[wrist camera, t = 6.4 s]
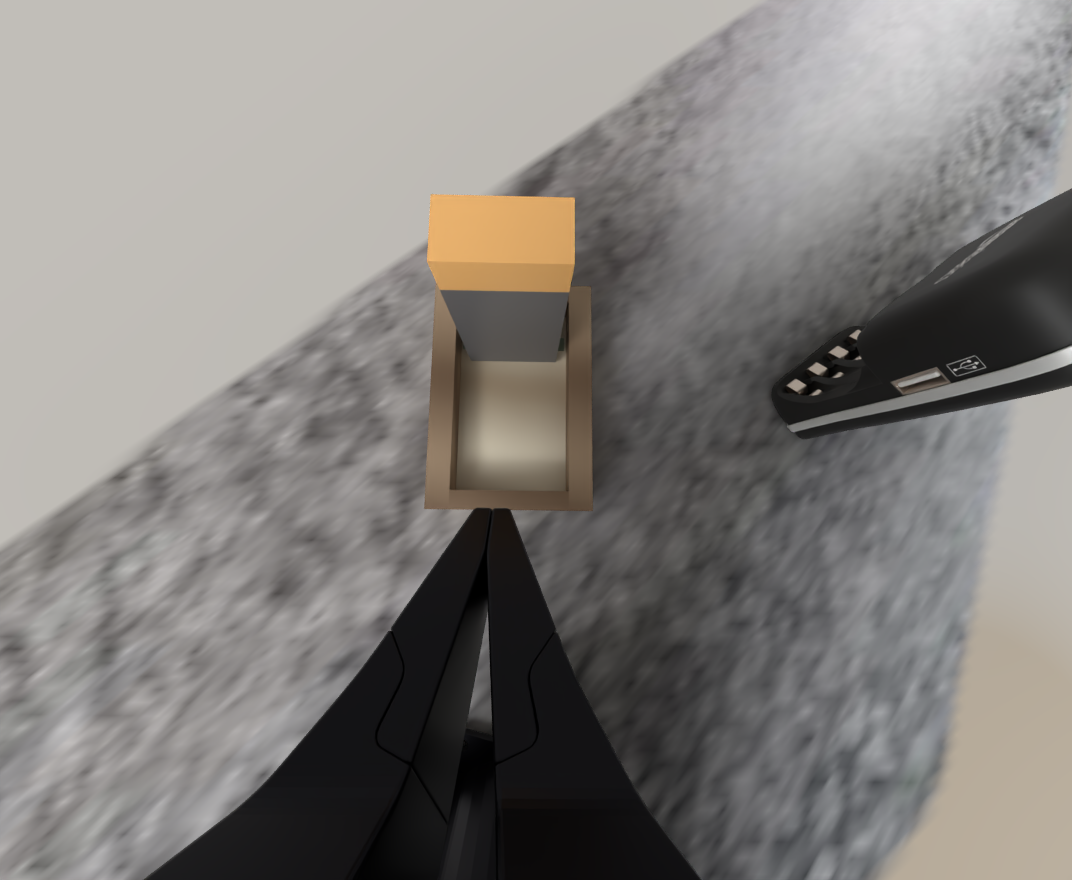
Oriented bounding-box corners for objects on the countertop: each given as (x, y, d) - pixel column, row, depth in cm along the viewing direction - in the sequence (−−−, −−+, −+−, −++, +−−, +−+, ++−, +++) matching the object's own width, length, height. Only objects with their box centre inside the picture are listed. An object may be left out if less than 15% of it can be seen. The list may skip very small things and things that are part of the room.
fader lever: (555, 362, 19) (574, 264, 11) (470, 360, 19) (426, 261, 11) (555, 322, 19) (574, 197, 11) (472, 320, 19) (430, 194, 11)
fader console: (583, 508, 19) (592, 510, 16) (440, 506, 19) (424, 508, 16) (582, 316, 21) (591, 286, 18) (449, 313, 21) (435, 283, 18)
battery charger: (842, 311, 21) (1206, 98, 10) (892, 366, 21) (1331, 211, 9) (745, 387, 20) (1013, 254, 9) (794, 446, 20) (1139, 382, 9)
